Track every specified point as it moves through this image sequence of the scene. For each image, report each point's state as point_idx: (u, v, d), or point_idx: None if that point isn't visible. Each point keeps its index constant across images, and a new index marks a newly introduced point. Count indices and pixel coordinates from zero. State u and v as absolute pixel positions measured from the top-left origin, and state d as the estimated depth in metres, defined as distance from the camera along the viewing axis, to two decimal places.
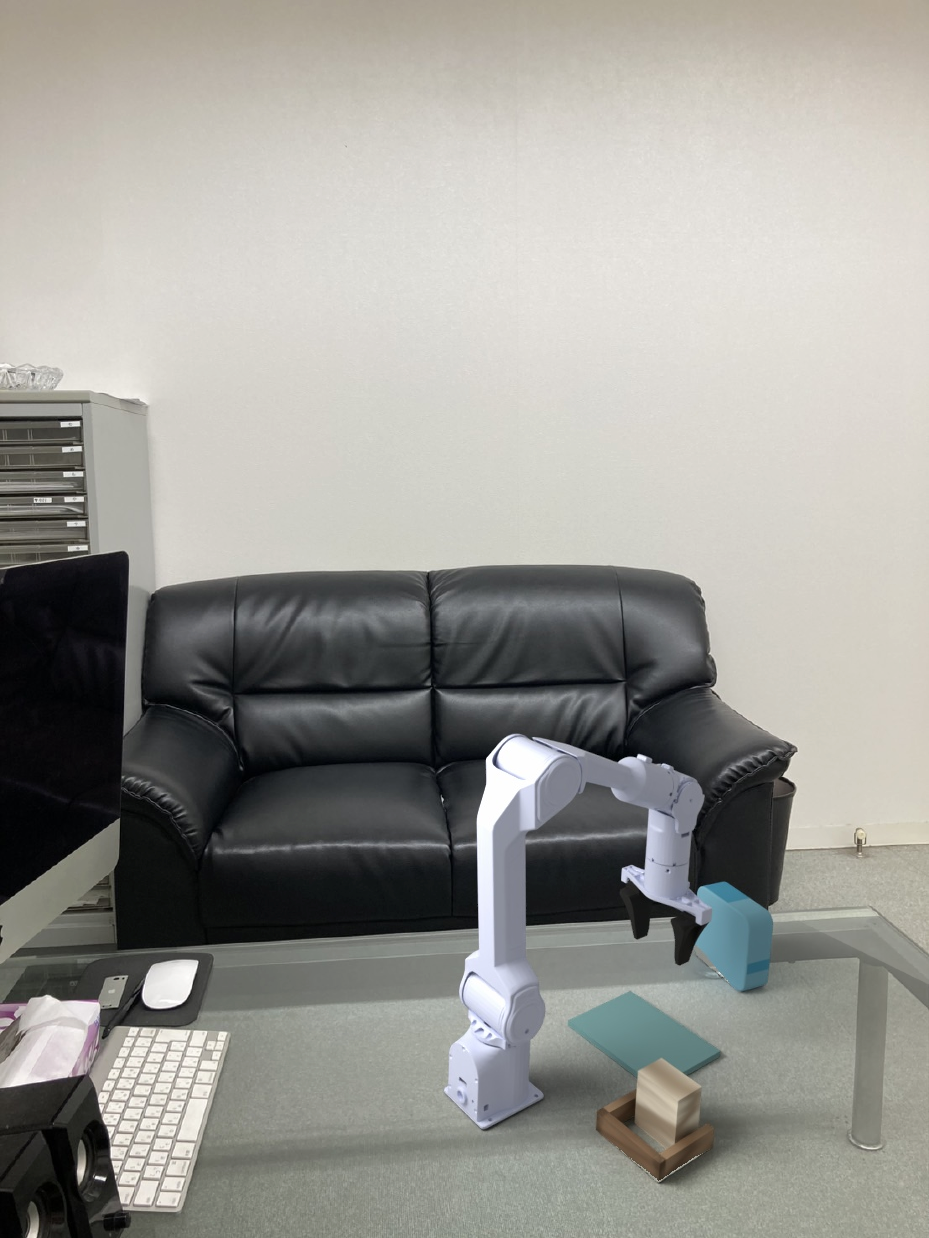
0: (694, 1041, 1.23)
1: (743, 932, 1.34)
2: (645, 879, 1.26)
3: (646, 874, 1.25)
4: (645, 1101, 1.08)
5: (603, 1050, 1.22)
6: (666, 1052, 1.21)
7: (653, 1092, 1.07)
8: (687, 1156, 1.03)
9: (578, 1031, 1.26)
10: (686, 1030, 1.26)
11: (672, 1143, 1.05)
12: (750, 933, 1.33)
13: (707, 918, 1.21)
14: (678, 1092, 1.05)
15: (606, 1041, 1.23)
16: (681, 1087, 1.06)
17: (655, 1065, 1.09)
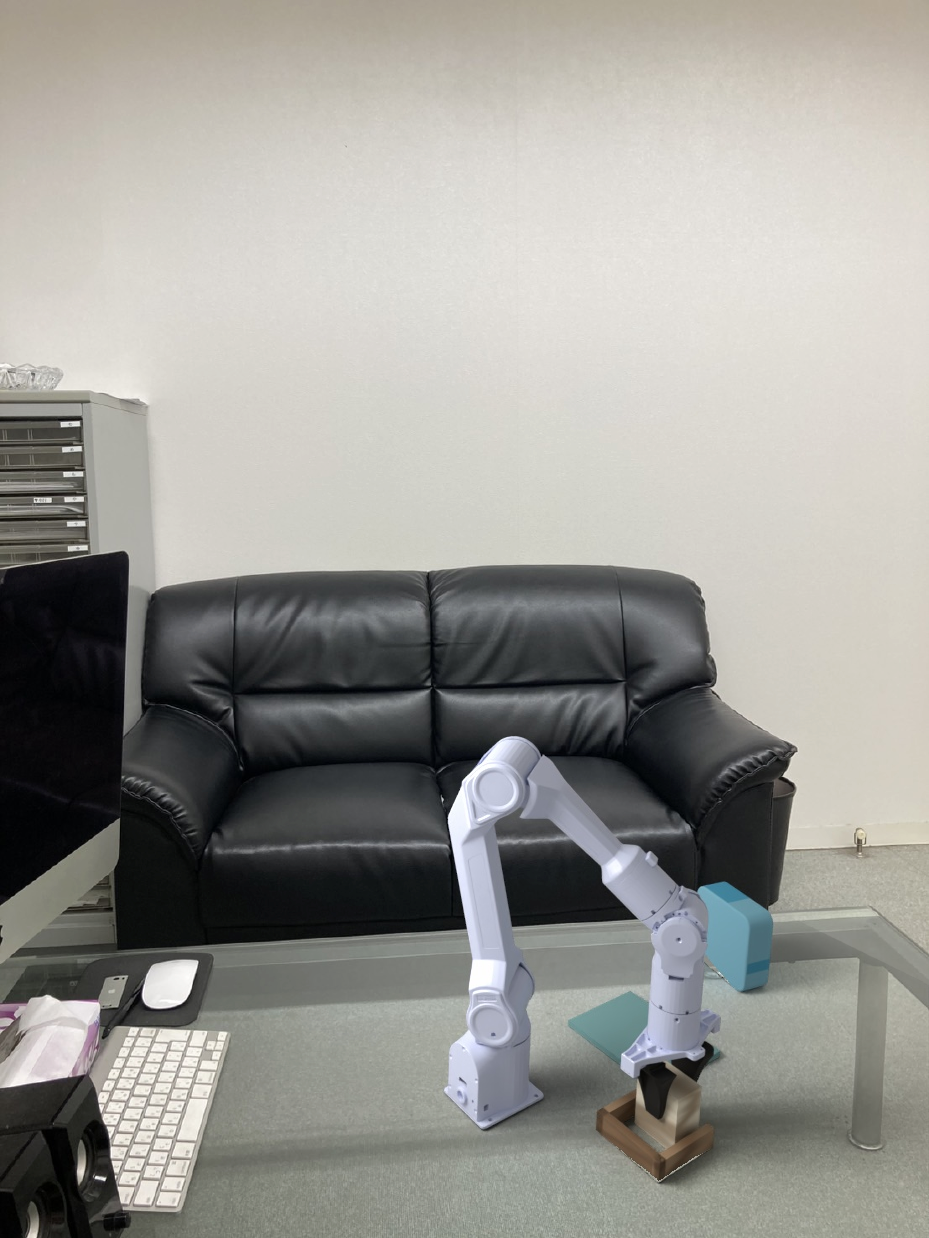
0: None
1: (743, 933, 1.34)
2: None
3: None
4: None
5: (603, 1050, 1.22)
6: None
7: None
8: (687, 1156, 1.03)
9: (578, 1031, 1.26)
10: None
11: (672, 1143, 1.05)
12: (750, 933, 1.33)
13: (628, 1069, 1.02)
14: (679, 1091, 1.05)
15: (606, 1041, 1.23)
16: (681, 1086, 1.06)
17: None
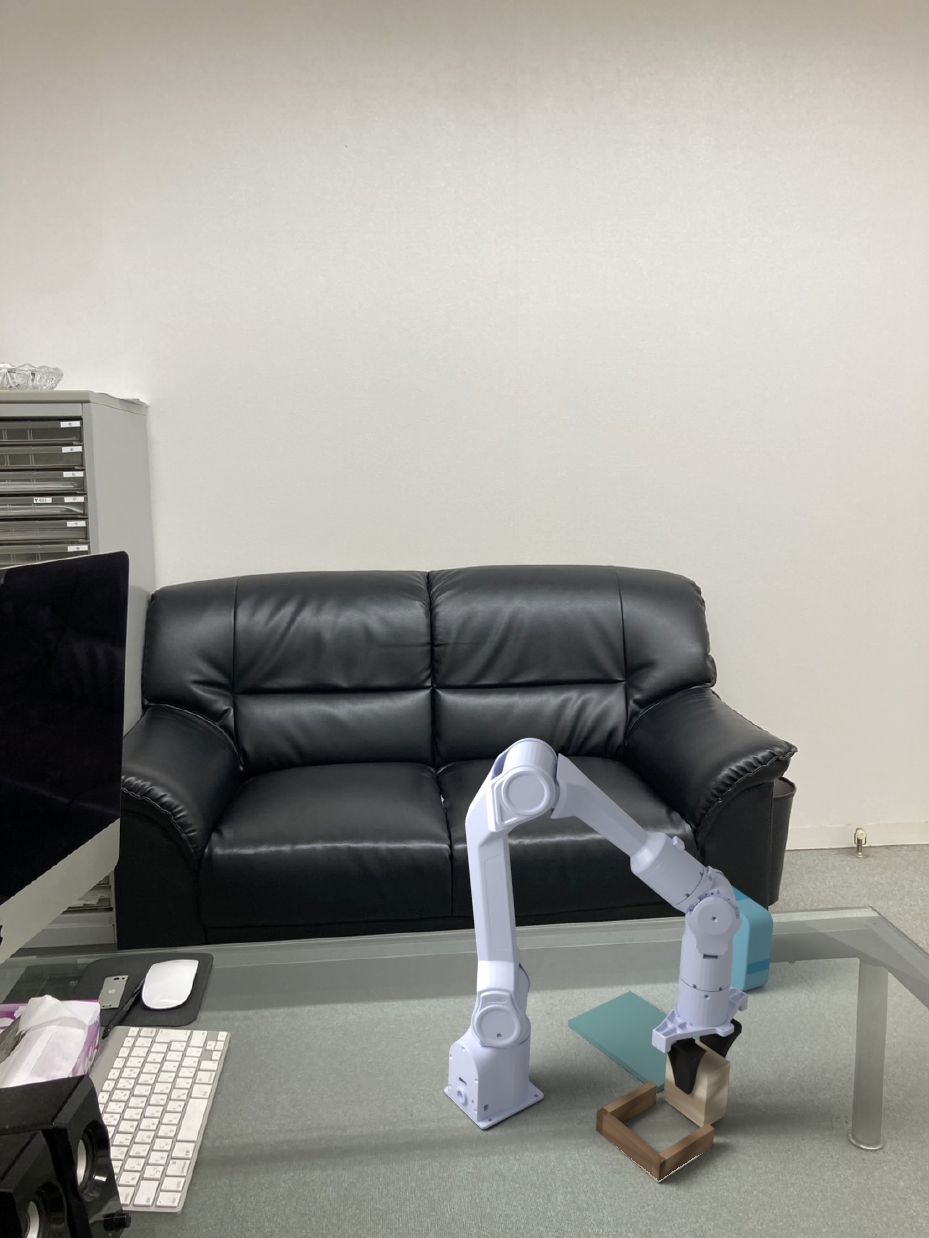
0: None
1: (743, 932, 1.34)
2: None
3: None
4: None
5: (603, 1050, 1.22)
6: None
7: None
8: (687, 1156, 1.03)
9: (578, 1031, 1.26)
10: None
11: (702, 1117, 1.08)
12: (750, 933, 1.33)
13: (659, 1044, 1.05)
14: (708, 1067, 1.08)
15: (606, 1041, 1.23)
16: (710, 1062, 1.08)
17: None
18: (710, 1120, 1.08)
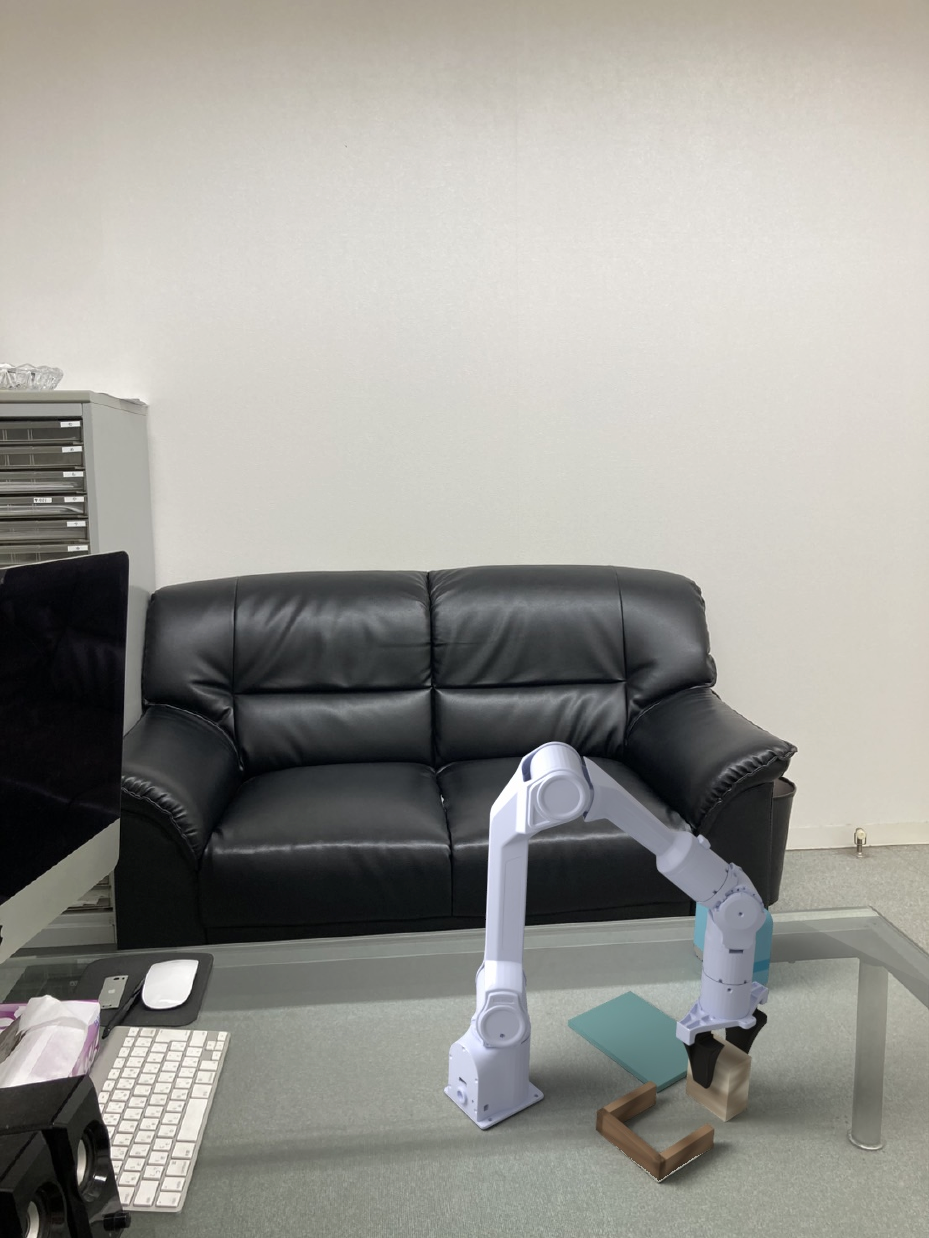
0: None
1: None
2: None
3: None
4: None
5: (603, 1050, 1.22)
6: (666, 1052, 1.21)
7: None
8: (687, 1156, 1.03)
9: (578, 1031, 1.26)
10: None
11: (724, 1110, 1.10)
12: None
13: (683, 1036, 1.07)
14: (730, 1061, 1.10)
15: (606, 1041, 1.23)
16: (732, 1057, 1.11)
17: None
18: (731, 1113, 1.11)
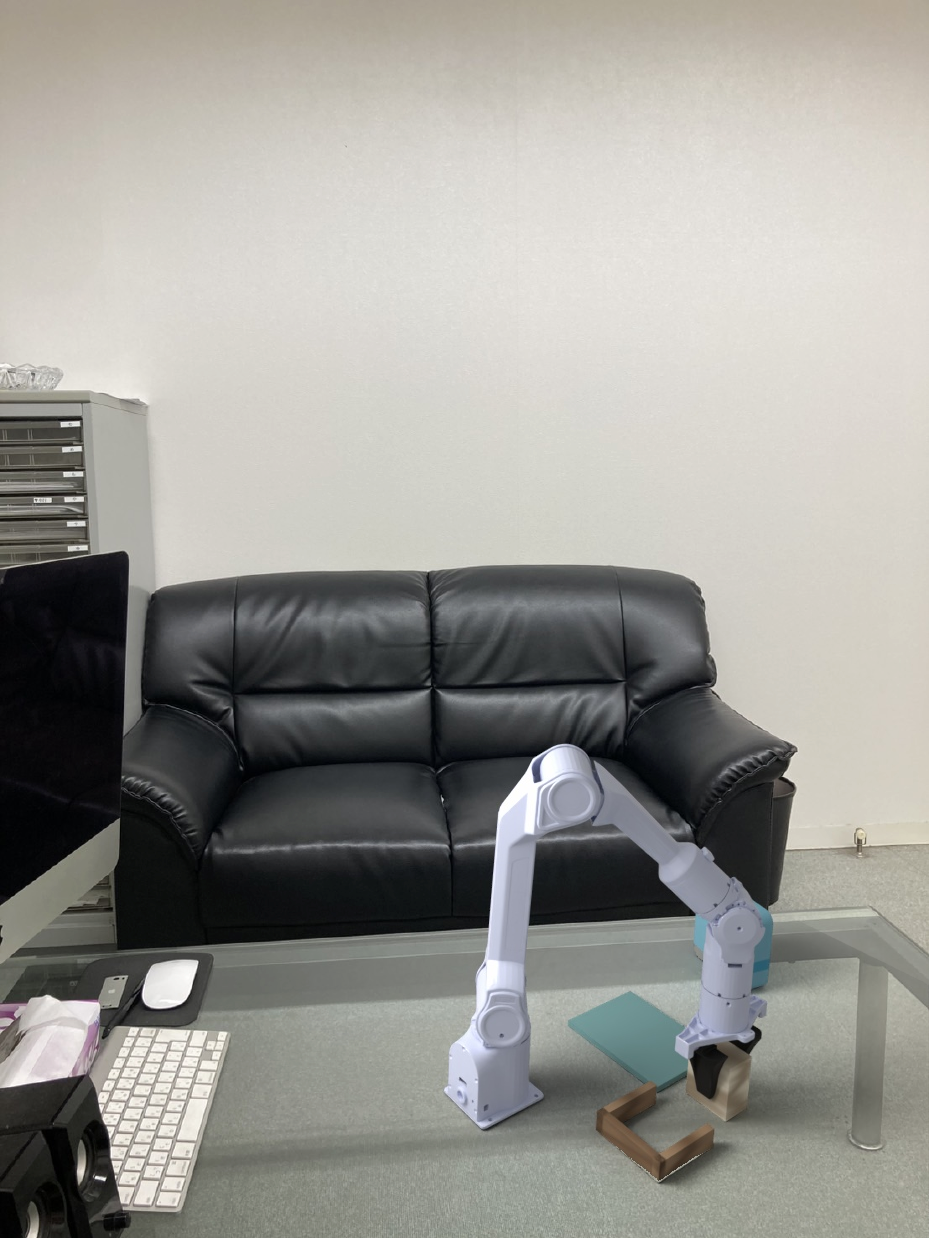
0: None
1: None
2: None
3: None
4: None
5: (603, 1050, 1.22)
6: (666, 1052, 1.21)
7: None
8: (687, 1156, 1.03)
9: (578, 1031, 1.26)
10: None
11: (724, 1110, 1.10)
12: None
13: (682, 1050, 1.08)
14: (730, 1061, 1.10)
15: (606, 1041, 1.23)
16: (732, 1056, 1.11)
17: None
18: (732, 1113, 1.11)
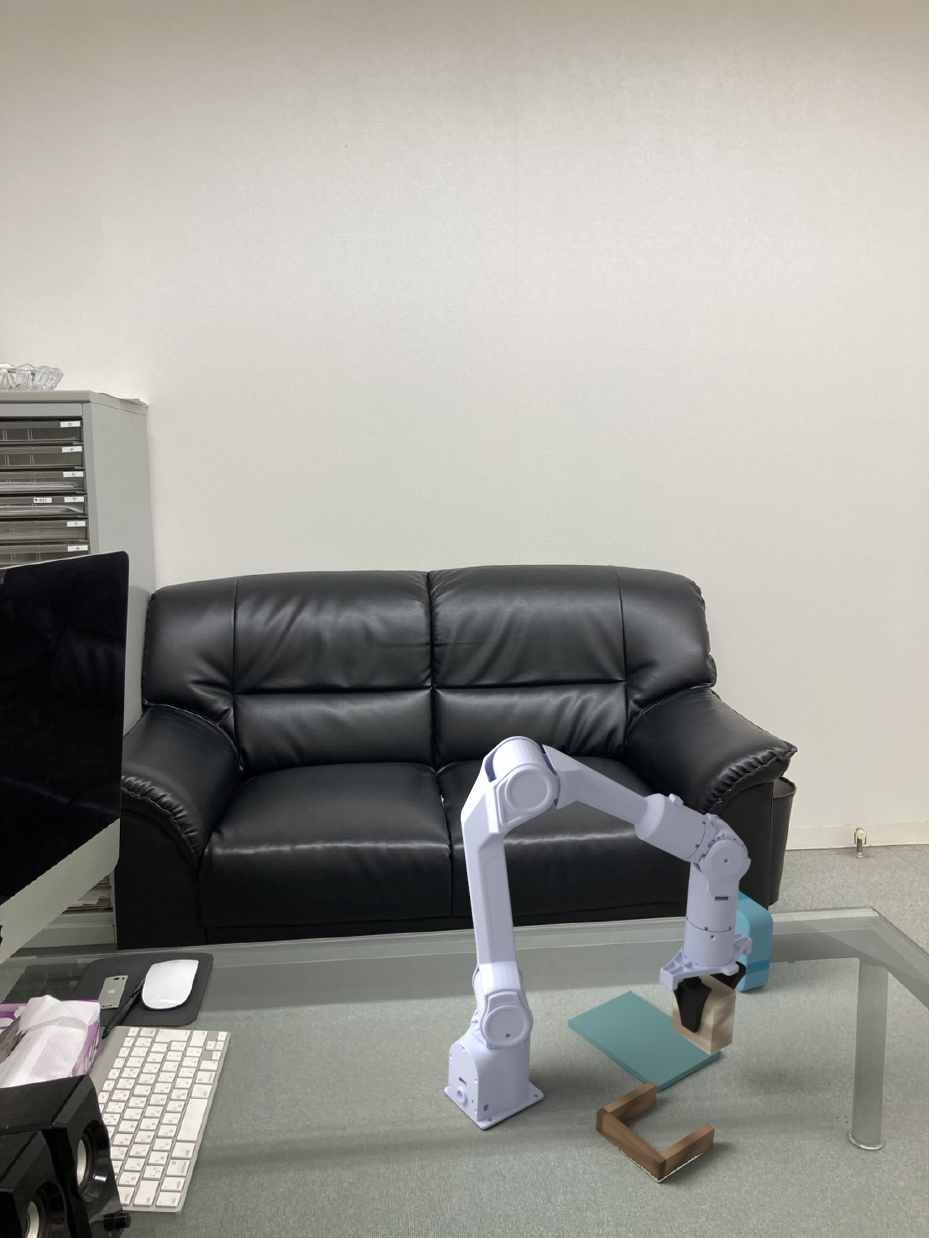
0: None
1: (743, 932, 1.34)
2: None
3: None
4: None
5: (603, 1050, 1.22)
6: (666, 1052, 1.21)
7: None
8: (687, 1156, 1.03)
9: (578, 1031, 1.26)
10: None
11: (708, 1043, 1.11)
12: (750, 933, 1.33)
13: (666, 982, 1.09)
14: (715, 995, 1.11)
15: (606, 1041, 1.23)
16: (717, 991, 1.12)
17: None
18: (716, 1047, 1.12)
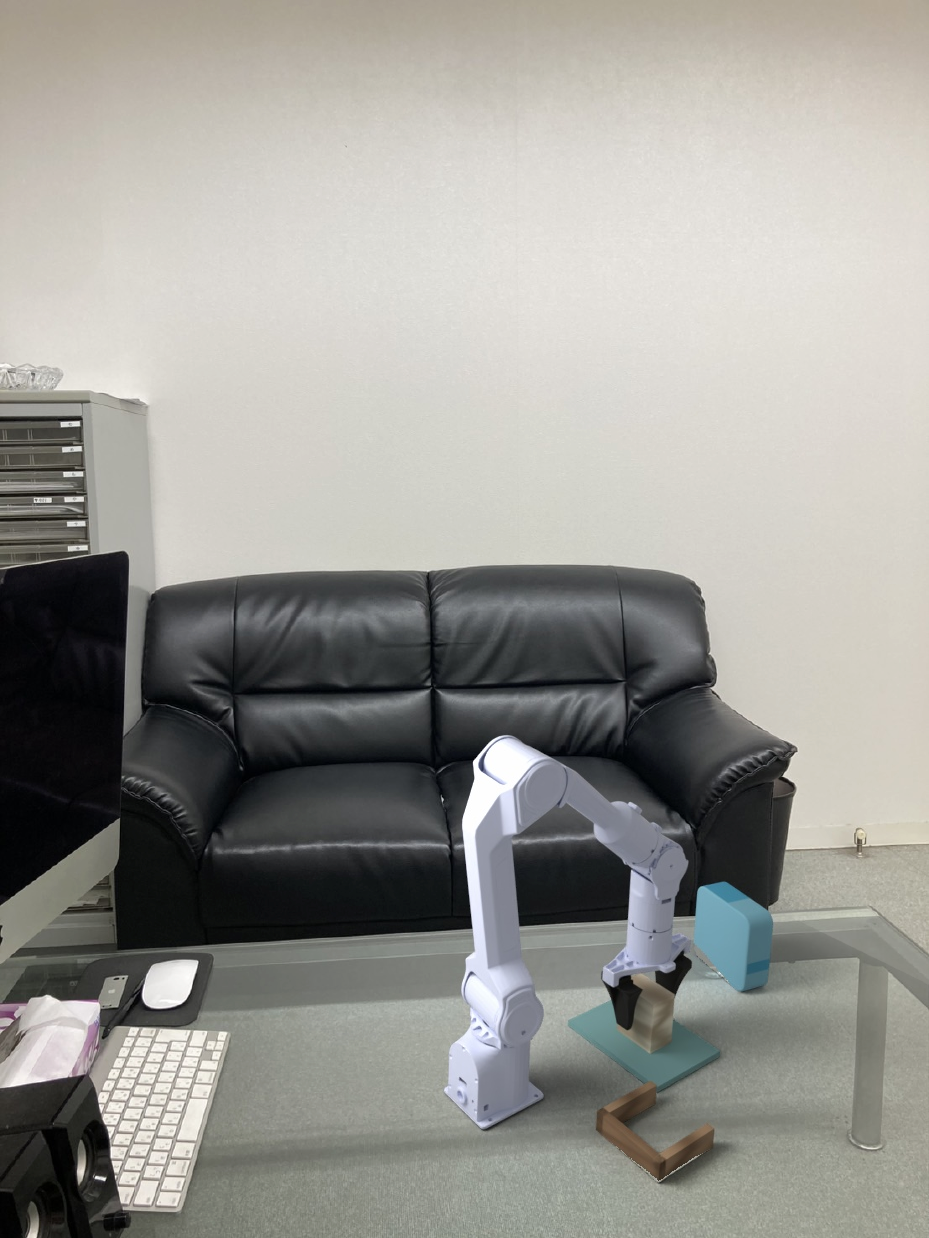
0: (694, 1041, 1.23)
1: (743, 932, 1.34)
2: None
3: None
4: None
5: (603, 1050, 1.22)
6: (666, 1052, 1.21)
7: None
8: (687, 1156, 1.03)
9: (578, 1031, 1.26)
10: (686, 1030, 1.26)
11: (649, 1043, 1.21)
12: (750, 933, 1.33)
13: (608, 979, 1.18)
14: (654, 998, 1.21)
15: (606, 1041, 1.23)
16: (656, 994, 1.22)
17: (635, 978, 1.25)
18: (656, 1046, 1.21)
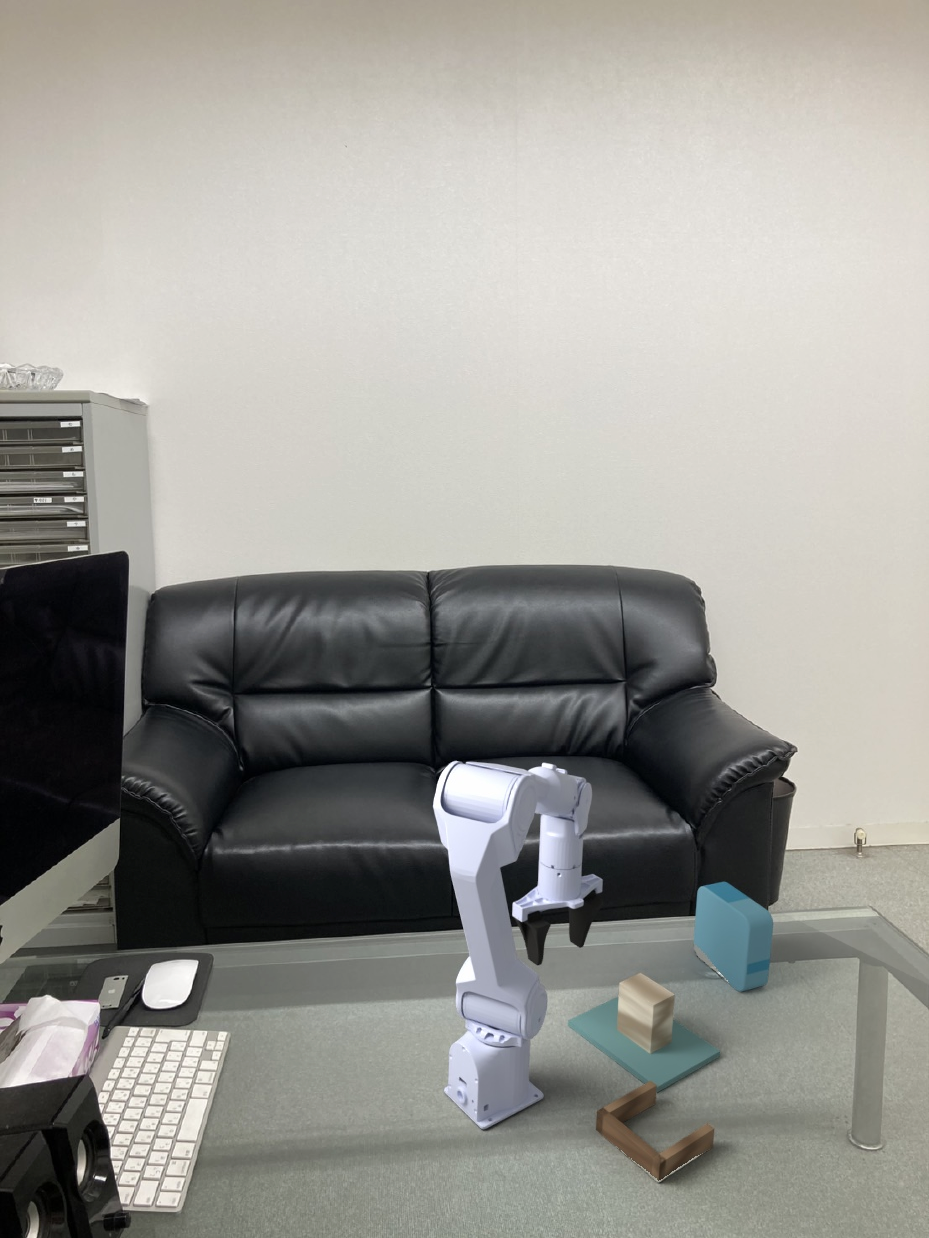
0: (694, 1041, 1.23)
1: (743, 933, 1.34)
2: None
3: None
4: (626, 1008, 1.24)
5: (603, 1050, 1.22)
6: (666, 1052, 1.21)
7: (632, 1000, 1.22)
8: (687, 1156, 1.03)
9: (578, 1031, 1.26)
10: (686, 1030, 1.26)
11: (649, 1043, 1.21)
12: (750, 933, 1.33)
13: (517, 914, 1.22)
14: (654, 998, 1.21)
15: (606, 1041, 1.23)
16: (656, 994, 1.22)
17: (635, 978, 1.25)
18: (656, 1046, 1.21)
